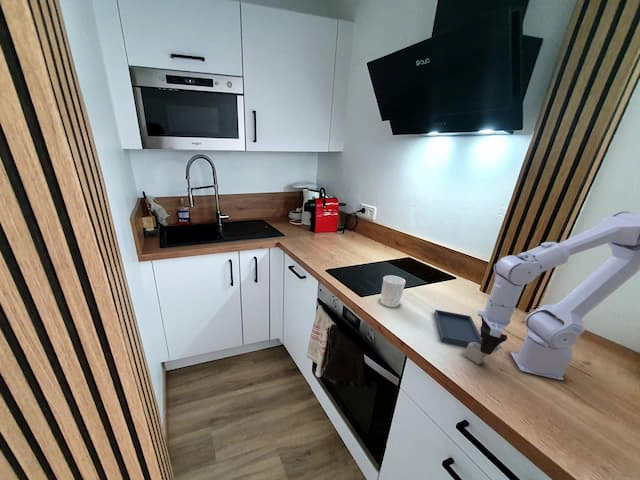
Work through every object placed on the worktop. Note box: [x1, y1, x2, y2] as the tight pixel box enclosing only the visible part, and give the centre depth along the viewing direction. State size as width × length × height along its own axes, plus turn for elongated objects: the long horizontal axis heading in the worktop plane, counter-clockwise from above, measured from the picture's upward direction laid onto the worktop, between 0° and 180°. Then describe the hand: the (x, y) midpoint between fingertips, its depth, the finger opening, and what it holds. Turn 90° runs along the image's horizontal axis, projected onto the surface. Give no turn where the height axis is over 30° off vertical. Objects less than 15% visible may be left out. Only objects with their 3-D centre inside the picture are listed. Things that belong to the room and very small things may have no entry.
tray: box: [433, 309, 482, 348], centre depth 94 cm, size 11×17×2 cm, turn 160°
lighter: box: [463, 342, 503, 365], centre depth 79 cm, size 7×2×8 cm, turn 31°
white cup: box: [380, 274, 406, 308], centre depth 108 cm, size 8×8×10 cm
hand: (484, 345), depth 78 cm, fingers open, 7 cm apart
